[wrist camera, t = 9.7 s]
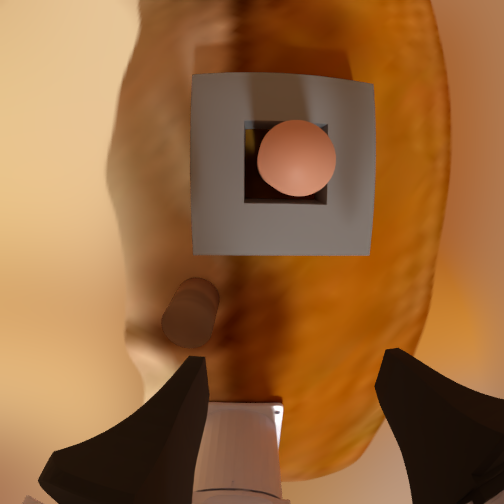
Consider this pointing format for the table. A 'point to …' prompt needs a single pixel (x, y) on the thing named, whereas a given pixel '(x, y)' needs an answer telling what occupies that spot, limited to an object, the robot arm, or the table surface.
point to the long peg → (296, 158)
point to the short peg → (191, 313)
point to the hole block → (280, 210)
